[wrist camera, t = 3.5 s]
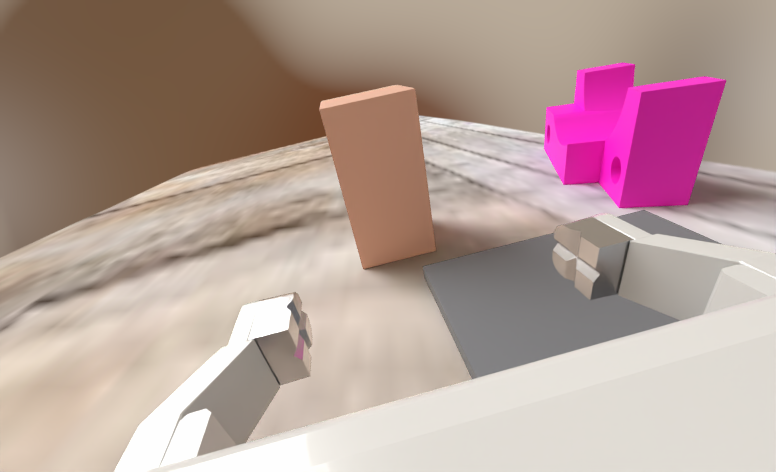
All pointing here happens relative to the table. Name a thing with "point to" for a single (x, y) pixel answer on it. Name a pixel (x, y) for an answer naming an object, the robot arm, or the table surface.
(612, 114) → the toy block
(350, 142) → the pillar block
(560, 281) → the mat
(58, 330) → the table surface
